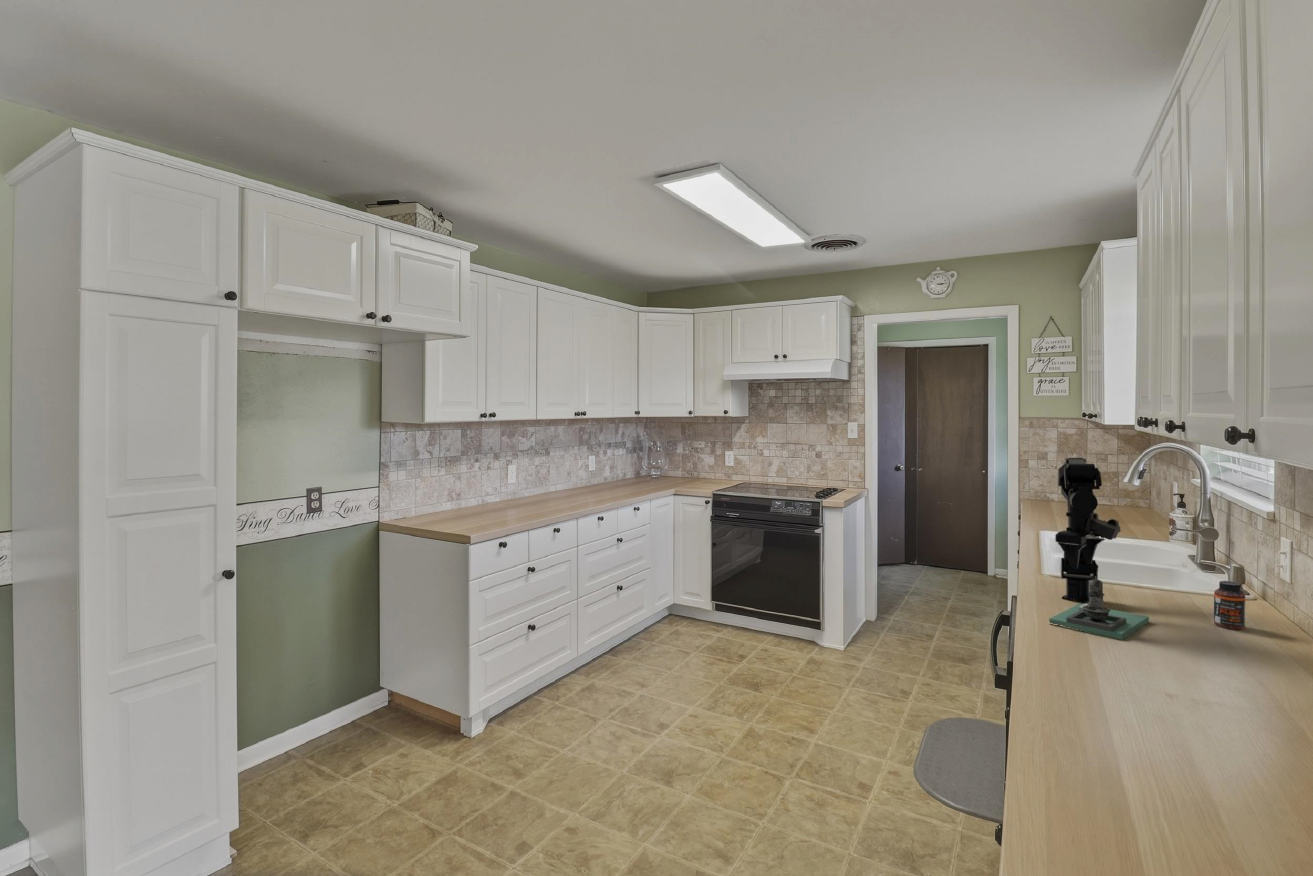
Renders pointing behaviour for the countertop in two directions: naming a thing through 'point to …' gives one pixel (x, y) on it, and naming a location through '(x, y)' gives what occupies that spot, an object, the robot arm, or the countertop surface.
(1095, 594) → the weathered stone pawn
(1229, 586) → the supplement bottle
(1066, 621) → the socket board
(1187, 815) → the countertop surface
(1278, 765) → the countertop surface
